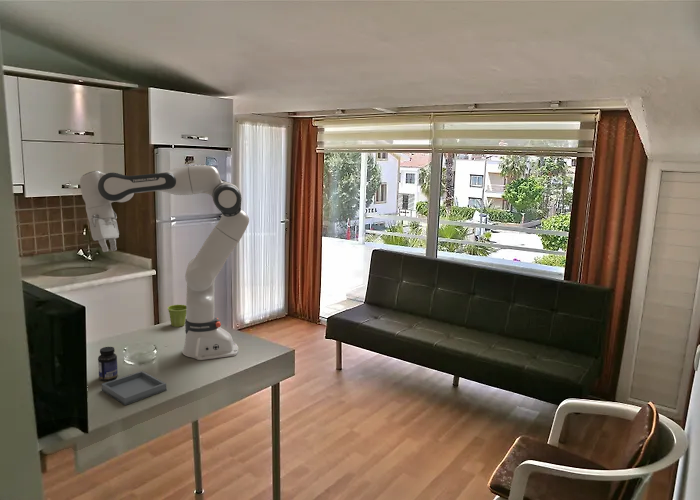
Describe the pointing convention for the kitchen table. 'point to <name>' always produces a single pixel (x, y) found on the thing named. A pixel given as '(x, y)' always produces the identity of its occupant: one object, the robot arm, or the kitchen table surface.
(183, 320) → the object
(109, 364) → the pill bottle
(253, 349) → the kitchen table surface
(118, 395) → the tray
